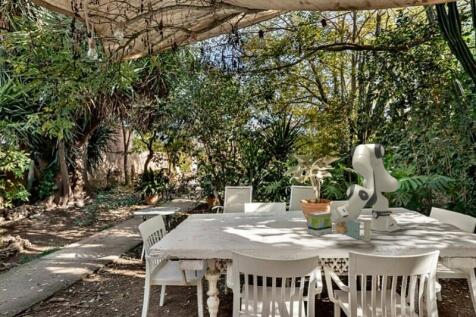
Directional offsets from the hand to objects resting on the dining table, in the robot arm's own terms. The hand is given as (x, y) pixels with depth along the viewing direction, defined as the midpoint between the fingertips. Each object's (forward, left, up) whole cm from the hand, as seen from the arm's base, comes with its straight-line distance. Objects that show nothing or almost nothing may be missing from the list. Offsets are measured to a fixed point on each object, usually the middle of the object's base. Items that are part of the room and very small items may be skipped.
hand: (339, 224), depth 237 cm
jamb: (-19, +6, -12) cm, 23 cm away
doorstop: (0, +3, -5) cm, 6 cm away
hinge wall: (-19, -17, -12) cm, 28 cm away
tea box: (-6, -26, -12) cm, 30 cm away
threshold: (-19, -5, -12) cm, 22 cm away
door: (-16, -6, -11) cm, 21 cm away
